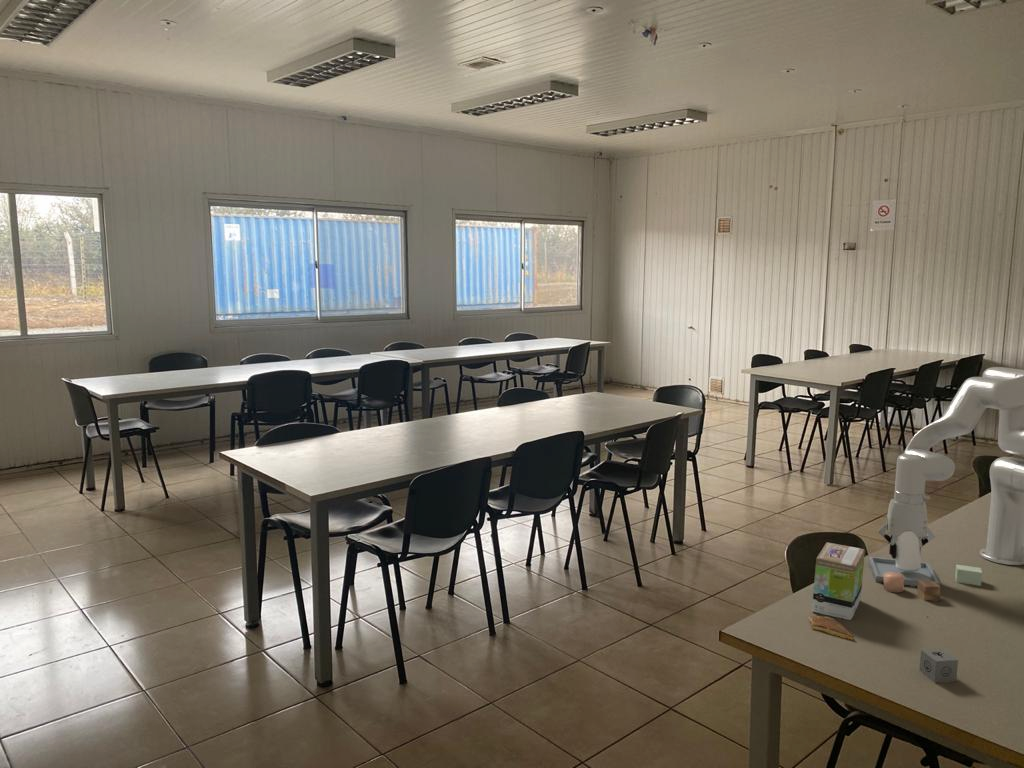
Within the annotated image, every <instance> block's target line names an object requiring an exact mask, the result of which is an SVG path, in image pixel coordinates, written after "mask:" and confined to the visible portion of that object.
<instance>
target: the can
mask: <svg viewBox="0 0 1024 768" xmlns="http://www.w3.org/2000/svg"><path fill="white" fill-rule="evenodd" d="M905 531H906V532H904V533H902V534H901V535H900V536H898V537H897V540H896V542H895V543H896V544H895V545H896V558H895V559H896V567H897V568H898V569H900V570H904V571H917V570H919V569H920V568H921V562H922V560H921V557H922V556H921V552H920V548H919V538H918V537H917V536H916V534H914V533H913V532H911V531H912V530H905Z"/></svg>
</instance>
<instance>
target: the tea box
mask: <svg viewBox="0 0 1024 768" xmlns="http://www.w3.org/2000/svg"><path fill="white" fill-rule="evenodd" d="M865 555H866V550H865V549H864V548H860V547H855V546H849V545H845V544H843V545H842V544H837V543H832V542H826V543H825V544H824V546H823V548H822V549H821V551H820V552H819V553H818V555H817V557H816V560H815V561H816V562H815V568H814V569H815V570H814V571H815V572H814V581H813V582H814V584H813V595H812V602H811V603H812V605H811V612H814V613H818V614H821V615H824V616H828V617H832V618H837V619H842V618H843V620H847V621H852V619H853V617H854V615H855V613H856V610H857V609H858V606H859V605H860V601H861V598H862V586H863V577H864V576H863V575H864V565H865Z"/></svg>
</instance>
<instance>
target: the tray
mask: <svg viewBox="0 0 1024 768" xmlns="http://www.w3.org/2000/svg"><path fill="white" fill-rule="evenodd" d="M868 564H869V567H870V569H871V572H872V575H873V577H874V580H875V583H883V584H884V573H885V572H897V573H901V574H903V575H904V586H906V585H910V586H909V587H915V586H917V588H918V581H934V582H935V583H936V584H938V585H939V586H940V585H941V584H940V581H939V580H938V577H937V575H936V574H935V572H934V571H933V568H932V567H931V565H930V564H929V562H923V561H921V568H920V569H919V570H917V571H904V570H900V569H898V568H897V567H896V558H895V559H893V558H886V557H877V556H868ZM940 587H941V586H940Z"/></svg>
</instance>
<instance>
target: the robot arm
mask: <svg viewBox="0 0 1024 768" xmlns="http://www.w3.org/2000/svg"><path fill="white" fill-rule="evenodd" d="M987 408H988V409H989V408H990V409H994V410H999V413H998V414H999V416H998V419H999V420H998V430H997V431H998V432H997V444H998V447H999V448H1000V450H1002V451H1003V452H1005V453H1008V454H1012V455H1015V456H1020V457H1024V369H1020V368H1012V367H1005V366H1004V367H1003V366H991V367H987V368H986V369H985V370H984V371H983V372H982V376H971V377H969V378H967V379H965V380H964V382H963V383H962V384H961V386H960V387H959V388H958V391H957V392H956V393H955V395H954V396H953V399H952V400H951V402H950V403H949V405H948V407H947V408H946V409H945V412H944V413H943V415H942V416H940V418H938V419H936V420H934V421H933V422H931V423H929V424H928V425H926V426H924V427H923V428H921V429H920V430H919V431H917V432H916V433H915V434H914V435H913V437H912V438H911V440H910V441H909V442H908V444H907V446H906V448H905V449H904V451H903V453H902V454H900V455H898V456H897V459H896V468H895V480H894V481H895V482H894V493H893V495H894V496H893V498H891V499H890V502H889V505H888V509H887V515H886V516H887V517H886V522H885V523H884V524H882V525H881V527H879V528H878V529H877V532H878V533H879V534H880V535H881V536H882V537H883V538H884V539H885V540H886V541H887V542H888V543H889V552H888V553H889V555H891V559H896V545H895V544H896V543H895V542H896V540H897V537H898V536H900V535H901V534H902V533H904V532H906V531H905V530H912V531H911V532H913V533H914V534H916V536H917V537H918V538H919V548H920V553H921V550H922V548H923V547H924V546H925V545H926V544H928V543H929V542H931V541H932V540H934V539H936V536H935V534H934V533H933V531H932V530H931V529H930V528H929V526H928V511H927V504H926V502H925V501H930V500H931V499H930V496H931V495H929V494H926V493H925V489H926V487H925V486H926V481H934V482H936V481H938V482H941V481H942V482H943V481H946V480H948V479H950V478H952V476H953V475H954V473H955V472H956V465H955V463H954V461H953V460H952V458H950V457H948V456H947V455H944V454H942V453H937V452H933V451H930V449H931V448H932V447H933V446H934V445H936V444H937V443H940V442H941V441H944V440H947V439H950V438H956V437H960V436H965V435H968V434H971V433H972V431H973V430H974V429H975V428H976V426H977V424H978V422H979V421H980V419H981V417H982V416H983V414H984V412H985V410H986V409H987ZM989 479H990V489H991V492H990V493H991V495H990V505H989V506H990V508H989V517H988V518H989V519H988V527H987V536H986V537H987V539H986V546H985V547H984V548H981V549H980V550H979V554H980V556H981V557H982V558H984V559H985V560H988V561H990V562H994V563H997V564H1001V565H1006V566H1007V565H1008V566H1024V459H1022V458H1017V457H1013V456H1002V457H997V458H996V459H995V460H994V461H993V462H992V463H991V464H990V467H989ZM886 531H888V533H887V532H886Z"/></svg>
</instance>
